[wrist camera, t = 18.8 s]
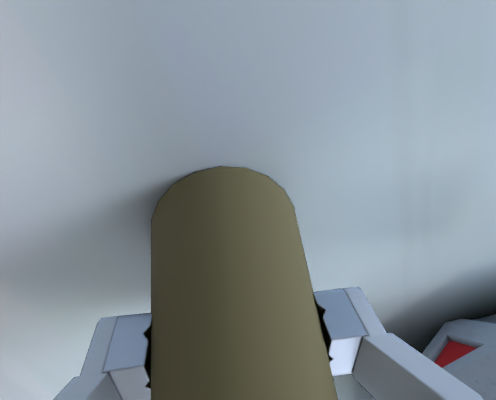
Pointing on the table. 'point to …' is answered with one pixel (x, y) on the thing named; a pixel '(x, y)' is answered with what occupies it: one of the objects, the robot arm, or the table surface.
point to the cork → (233, 294)
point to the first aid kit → (468, 353)
